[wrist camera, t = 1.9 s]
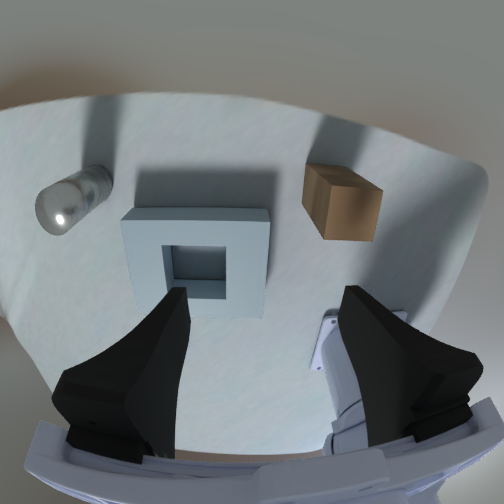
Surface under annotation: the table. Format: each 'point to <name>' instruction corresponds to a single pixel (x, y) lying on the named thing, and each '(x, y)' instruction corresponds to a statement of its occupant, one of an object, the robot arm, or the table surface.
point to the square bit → (341, 202)
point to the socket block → (199, 234)
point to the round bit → (72, 199)
